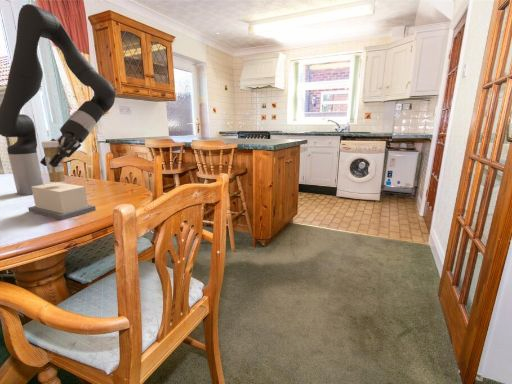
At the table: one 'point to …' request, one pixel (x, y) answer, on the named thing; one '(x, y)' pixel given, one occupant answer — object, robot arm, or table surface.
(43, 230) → the table surface
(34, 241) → the table surface
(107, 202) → the table surface
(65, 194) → the cream and grey block
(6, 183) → the table surface
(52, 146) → the sprinkles bottle
